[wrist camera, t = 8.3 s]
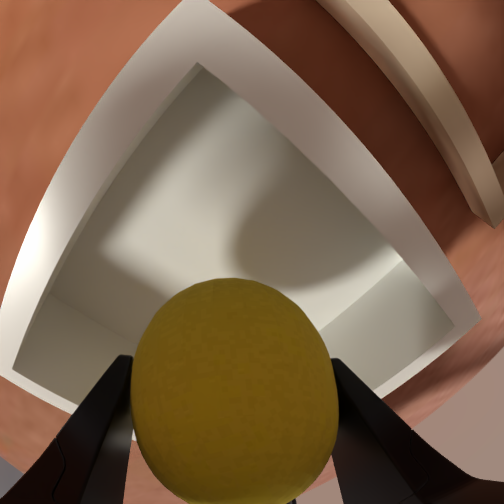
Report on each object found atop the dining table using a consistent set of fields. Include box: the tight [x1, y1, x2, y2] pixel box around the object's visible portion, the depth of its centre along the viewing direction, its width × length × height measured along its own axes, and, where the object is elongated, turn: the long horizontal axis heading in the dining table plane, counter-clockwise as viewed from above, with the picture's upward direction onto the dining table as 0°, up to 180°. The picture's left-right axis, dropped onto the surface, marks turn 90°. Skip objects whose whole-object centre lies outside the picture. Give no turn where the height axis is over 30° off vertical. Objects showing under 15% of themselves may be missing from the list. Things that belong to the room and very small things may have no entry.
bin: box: [0, 0, 482, 441], centre depth 11 cm, size 13×13×5 cm
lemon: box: [130, 278, 339, 504], centre depth 8 cm, size 6×6×8 cm
